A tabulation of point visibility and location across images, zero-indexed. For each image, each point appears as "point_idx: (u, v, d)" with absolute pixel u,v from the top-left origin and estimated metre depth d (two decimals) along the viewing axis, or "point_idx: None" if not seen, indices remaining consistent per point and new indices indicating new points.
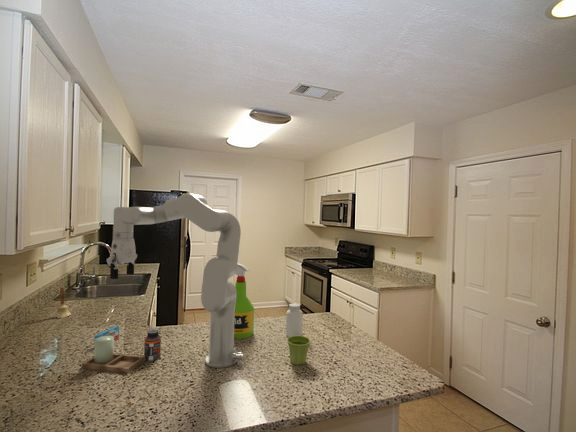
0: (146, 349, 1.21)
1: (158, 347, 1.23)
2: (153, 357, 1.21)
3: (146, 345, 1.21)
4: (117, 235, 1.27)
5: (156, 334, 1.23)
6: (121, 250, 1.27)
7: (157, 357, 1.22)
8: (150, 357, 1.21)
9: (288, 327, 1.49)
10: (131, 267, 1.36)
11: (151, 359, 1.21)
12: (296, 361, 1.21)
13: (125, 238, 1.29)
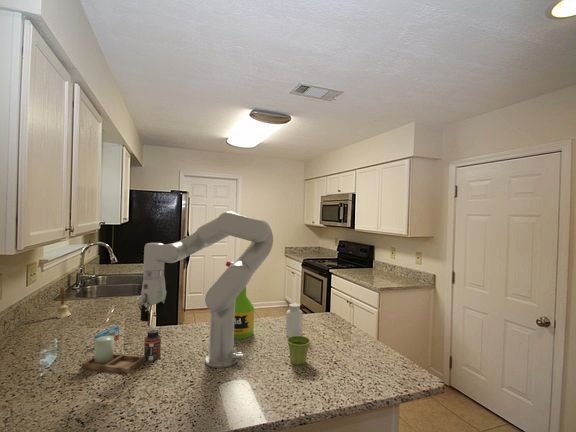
0: (146, 349, 1.21)
1: (158, 347, 1.23)
2: (153, 357, 1.21)
3: (146, 345, 1.21)
4: (148, 274, 1.19)
5: (156, 334, 1.23)
6: (152, 291, 1.19)
7: (157, 357, 1.22)
8: (150, 357, 1.21)
9: (288, 327, 1.49)
10: (161, 306, 1.28)
11: (151, 359, 1.21)
12: (296, 361, 1.21)
13: (156, 277, 1.21)
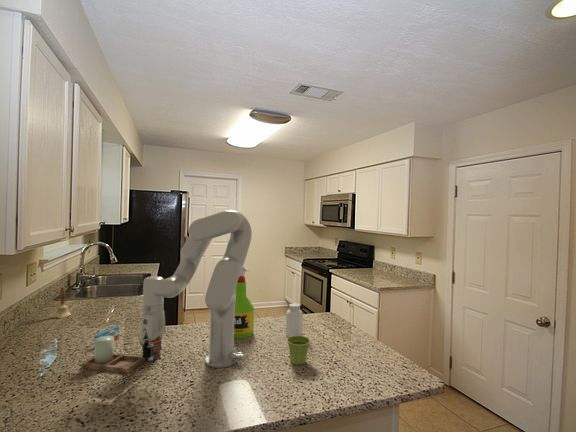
0: None
1: (158, 347, 1.23)
2: (153, 357, 1.21)
3: None
4: (148, 310, 1.19)
5: None
6: (152, 326, 1.19)
7: (157, 357, 1.22)
8: (150, 357, 1.21)
9: (288, 327, 1.49)
10: None
11: (151, 359, 1.21)
12: (296, 361, 1.21)
13: (156, 312, 1.21)
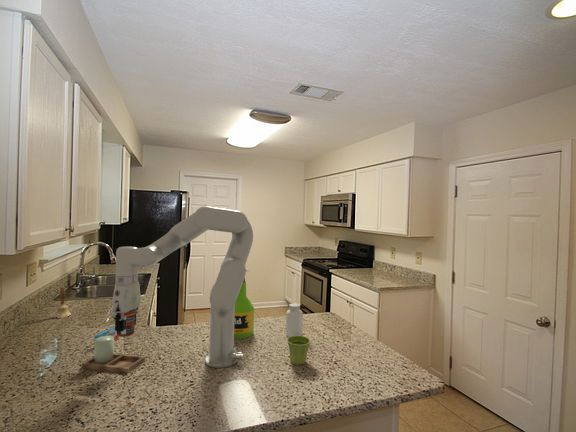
0: None
1: (131, 321, 1.16)
2: (126, 331, 1.14)
3: None
4: (120, 280, 1.12)
5: None
6: (124, 297, 1.12)
7: (130, 331, 1.15)
8: (122, 331, 1.14)
9: (288, 327, 1.49)
10: None
11: (124, 333, 1.14)
12: (296, 361, 1.21)
13: (129, 283, 1.14)
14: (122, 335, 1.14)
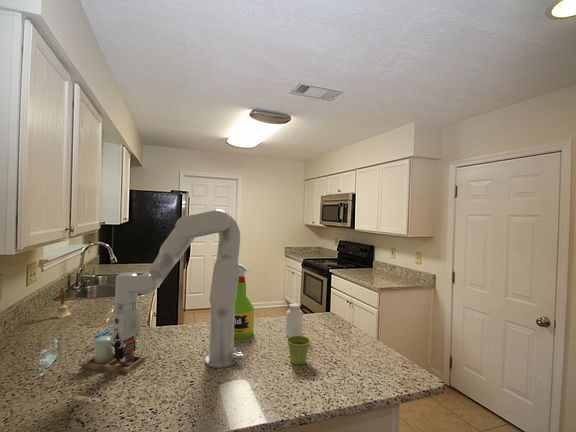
0: None
1: (131, 348, 1.16)
2: (126, 358, 1.14)
3: None
4: (119, 308, 1.12)
5: None
6: (124, 325, 1.12)
7: (130, 358, 1.15)
8: (122, 359, 1.14)
9: (288, 327, 1.49)
10: None
11: (123, 360, 1.14)
12: (296, 361, 1.21)
13: (128, 310, 1.14)
14: (121, 362, 1.14)
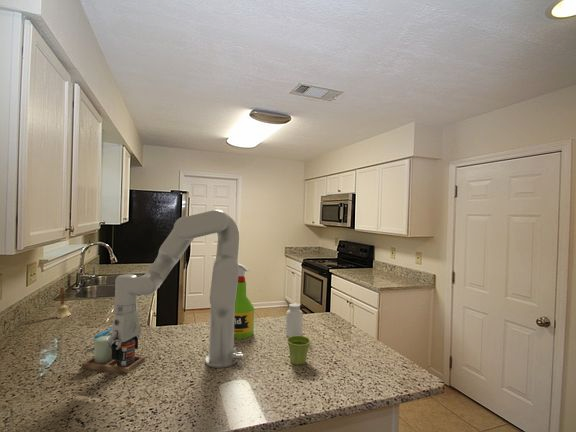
0: None
1: (132, 351, 1.16)
2: (126, 362, 1.14)
3: None
4: (119, 310, 1.12)
5: None
6: (124, 327, 1.12)
7: (130, 362, 1.16)
8: (122, 362, 1.14)
9: (288, 327, 1.49)
10: (135, 340, 1.21)
11: (124, 364, 1.14)
12: (296, 361, 1.21)
13: (128, 312, 1.14)
14: (122, 366, 1.14)
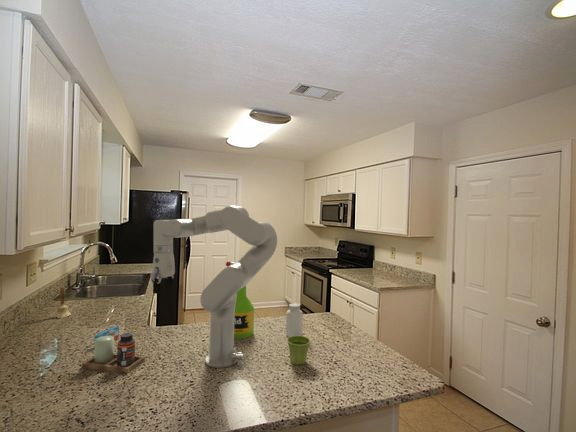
0: (119, 354, 1.14)
1: (132, 351, 1.16)
2: (126, 362, 1.14)
3: (119, 349, 1.14)
4: (159, 249, 1.25)
5: (130, 338, 1.16)
6: (164, 264, 1.25)
7: (130, 362, 1.16)
8: (122, 362, 1.14)
9: (288, 327, 1.49)
10: (170, 280, 1.34)
11: (124, 364, 1.14)
12: (296, 361, 1.21)
13: (166, 251, 1.27)
14: (122, 366, 1.14)
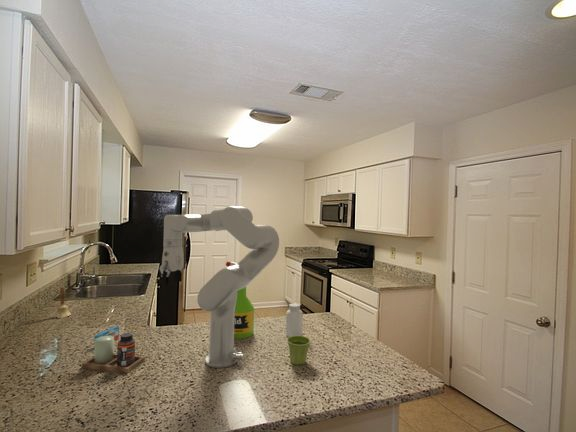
0: (119, 354, 1.14)
1: (132, 351, 1.16)
2: (126, 362, 1.14)
3: (119, 349, 1.14)
4: (168, 243, 1.29)
5: (130, 338, 1.16)
6: (172, 258, 1.29)
7: (130, 362, 1.16)
8: (122, 362, 1.14)
9: (288, 327, 1.49)
10: (179, 274, 1.37)
11: (124, 364, 1.14)
12: (296, 361, 1.21)
13: (176, 246, 1.30)
14: (122, 366, 1.14)
